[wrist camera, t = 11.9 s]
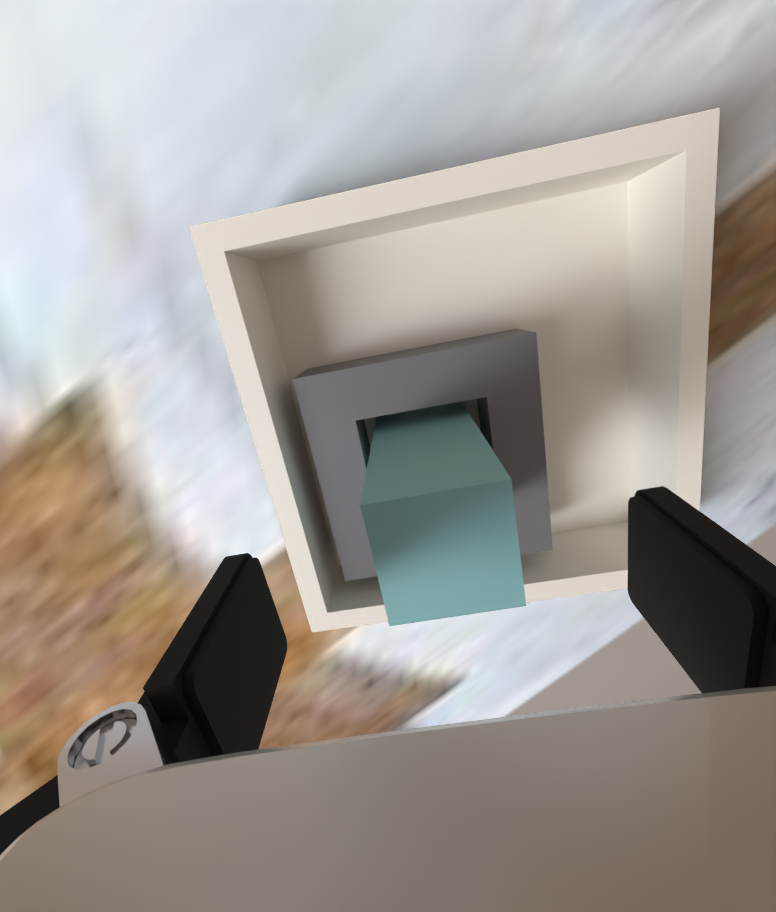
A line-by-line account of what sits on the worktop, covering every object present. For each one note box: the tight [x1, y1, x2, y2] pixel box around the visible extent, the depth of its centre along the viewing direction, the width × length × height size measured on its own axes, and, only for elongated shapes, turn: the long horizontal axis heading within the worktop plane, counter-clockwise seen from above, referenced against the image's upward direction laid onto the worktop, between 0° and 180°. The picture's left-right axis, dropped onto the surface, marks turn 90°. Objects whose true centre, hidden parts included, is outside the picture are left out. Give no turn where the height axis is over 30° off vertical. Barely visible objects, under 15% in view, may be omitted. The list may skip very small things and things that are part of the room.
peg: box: [360, 402, 526, 626], centre depth 17 cm, size 4×4×10 cm
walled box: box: [189, 107, 720, 632], centre depth 20 cm, size 18×18×4 cm
